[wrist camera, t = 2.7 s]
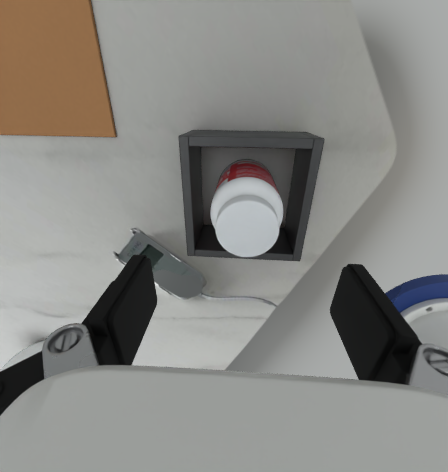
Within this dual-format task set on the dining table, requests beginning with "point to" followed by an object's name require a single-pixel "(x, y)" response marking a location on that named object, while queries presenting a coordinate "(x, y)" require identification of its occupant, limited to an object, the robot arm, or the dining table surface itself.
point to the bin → (300, 195)
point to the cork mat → (52, 70)
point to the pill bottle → (246, 209)
